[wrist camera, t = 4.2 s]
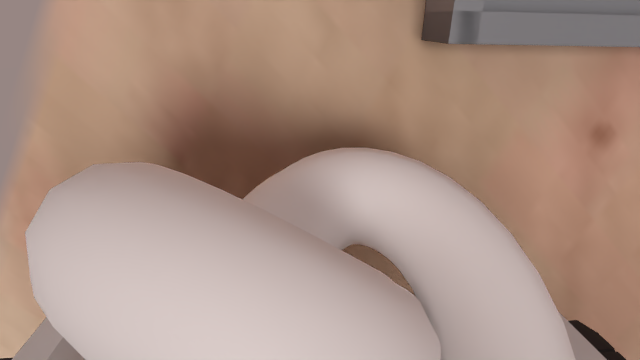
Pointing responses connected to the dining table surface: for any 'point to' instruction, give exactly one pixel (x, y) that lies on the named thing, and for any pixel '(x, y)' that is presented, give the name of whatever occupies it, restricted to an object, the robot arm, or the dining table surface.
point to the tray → (533, 22)
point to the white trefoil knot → (286, 266)
